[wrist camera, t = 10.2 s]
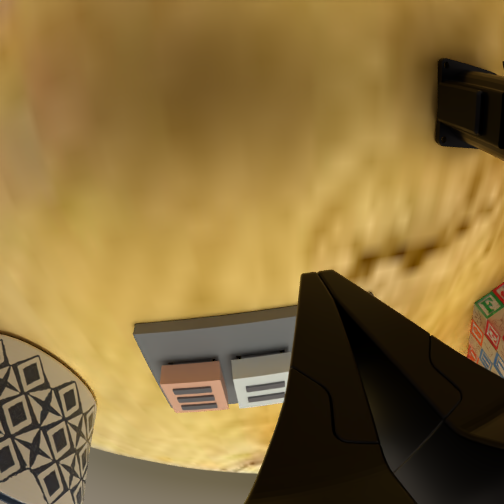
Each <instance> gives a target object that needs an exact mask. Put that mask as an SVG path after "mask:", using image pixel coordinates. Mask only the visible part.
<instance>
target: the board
mask: <svg viewBox="0 0 504 504" xmlns="http://www.w3.org/2000/svg"><path fill="white" fill-rule="evenodd" d="M369 294H371V295H373V294H372V293H369ZM373 296H374V295H373ZM297 306H298V305H297ZM297 306H290V307H283V308H276V309H269V310H262V311H254V312H247V313H239V314H231V315H223V316H214V317H205V318H196V319H186V320H176V321H165V322H154V323H142V324H135V328H134V332H133V336H134V338H135V340H136V342H137V344H138V346H139V348H140V350H141V352H142V354H143V356H144V358H145V360H146V362H147V364H148V366H149V368H150V370H151V372H152V374H153V375H154V377H155V379H156V381H157V383H158V385H159V387H160V388H161V386H160V377H161V367H162V365H173V362H186V361H198V360H208V359H215V361H219V362H220V366H221V370H222V373H223V377H224V381H225V385H226V388H227V393H228V404H235V403H238V399H237V395H236V391H235V386H234V382H233V375H232V364H231V360H236V359H237V356H244V355H252V354H259V353H266V352H273V351H280V350H282V353H287V352H291V354H292V346H293V339H294V331H295V323H296V314H297ZM161 390H162V392H163V394H164V396H165V397H166V395H165V393H164V391H163V389H162V388H161ZM166 399H167V401H168V403H169V404H170V402H169V400H168V398H167V397H166ZM170 406H171V408H173V407H172V405H171V404H170Z"/></svg>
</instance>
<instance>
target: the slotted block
mask: <svg viewBox="0 0 504 504" xmlns="http://www.w3.org/2000/svg"><path fill="white" fill-rule="evenodd" d="M160 386H161V388H162V389H163V391H164V393H165V395H166V397H167V398H168V400H169V402H170V404H171V405H172V407H173V409H174V411H175V412H176V413H181V412H199V411H212V410H224V409H229V406H228V393H227V388H226V385H225V381H224V377H223V373H222V370H221V366H220V362H219V361H212V359H208V360H198V361H186V362H173V365H162V367H161V377H160Z"/></svg>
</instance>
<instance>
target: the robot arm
mask: <svg viewBox="0 0 504 504" xmlns="http://www.w3.org/2000/svg"><path fill="white" fill-rule="evenodd" d="M444 63H445V64H446V67H445V66H444ZM503 67H504V61H503ZM442 137H443V140H442V141H441V139H442ZM436 142H437V143H438V144H439V145H441V146H447V147H462V148H474V149H481V150H483V151H485V152H487V153H489V154H491V155H493V156H495V157H497V158H499V159H501V160H503V161H504V77H503V76H498V75H496V74H495V73H493V72H490V71H487V70H484V69H481V68H478V67H475V66H472V65H468V64H465V63H461V62H458V61H454V60H450V59H447V58H441V59H439V61H438V108H437V126H436ZM244 504H504V378H502V377H500V376H498V375H497V374H495V373H493V372H491V371H490V370H488V369H486V368H484V367H482V366H481V365H479V364H477V363H475V362H474V361H472V360H470V359H469V358H467V357H465V356H463V355H462V354H460V353H458V352H457V351H455V350H454V349H452V348H451V347H449V346H448V345H446V344H445V343H443V342H442V341H440V340H439V339H437V338H436V337H434V336H433V335H431V336H430V334H429V333H428V332H427V331H425V330H424V329H422V328H421V327H419V326H418V325H416V324H415V323H413V322H412V321H410V320H409V319H407V318H406V317H404V316H403V315H401V314H400V313H398V312H397V311H395V310H394V309H392V308H391V307H389V306H388V305H386V304H385V303H383V302H382V301H380V300H379V299H377V298H376V297H374V296H373V295H371V294H369V293H368V292H366V291H365V290H363V289H362V288H360V287H359V286H357V285H356V284H354V283H353V282H351V281H349V280H348V279H346V278H345V277H343V276H342V275H340V274H339V273H337V272H335V271H334V270H324V271H319V272H318V273H316V272H310V273H303V274H302V275H301V279H300V288H299V297H298V306H297V314H296V323H295V331H294V339H293V346H292V354H291V361H290V369H289V374H288V381H287V387H286V392H285V397H284V401H283V405H282V409H281V412H280V415H279V418H278V422H277V425H276V428H275V430H274V433H273V436H272V439H271V441H270V444H269V447H268V449H267V452H266V455H265V457H264V460H263V463H262V465H261V468H260V470H259V473H258V475H257V478H256V480H255V482H254V485H253V487H252V489H251V491H250V493H249V495H248V497H247V499H246V501H245V502H244Z"/></svg>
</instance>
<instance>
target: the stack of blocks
mask: <svg viewBox="0 0 504 504" xmlns="http://www.w3.org/2000/svg"><path fill="white" fill-rule="evenodd" d="M467 358H469V359H470V360H472V361H474V362H475V363H477V364H479V365H481V366H482V367H484V368H486V369H488V370H490V371H491V372H493V373H495V374H497V375H498V376H500V377H502V378H504V282H503V283H502V284H501V285H499V286H498V287H497V288H495V289H494V290H492V291H491V292H490V293H488V294H487V295H486V296H484V297H483V298H481V299H480V300H478V301H477V302H475V303H474V310H473V318H472V323H471V331H470V338H469V349H468V356H467Z"/></svg>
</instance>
